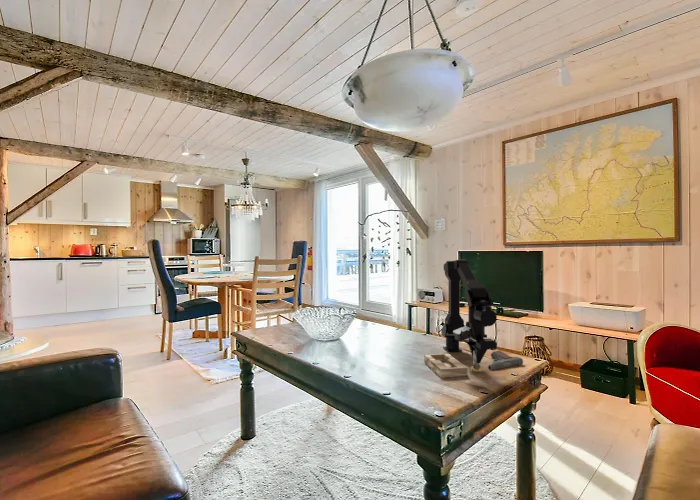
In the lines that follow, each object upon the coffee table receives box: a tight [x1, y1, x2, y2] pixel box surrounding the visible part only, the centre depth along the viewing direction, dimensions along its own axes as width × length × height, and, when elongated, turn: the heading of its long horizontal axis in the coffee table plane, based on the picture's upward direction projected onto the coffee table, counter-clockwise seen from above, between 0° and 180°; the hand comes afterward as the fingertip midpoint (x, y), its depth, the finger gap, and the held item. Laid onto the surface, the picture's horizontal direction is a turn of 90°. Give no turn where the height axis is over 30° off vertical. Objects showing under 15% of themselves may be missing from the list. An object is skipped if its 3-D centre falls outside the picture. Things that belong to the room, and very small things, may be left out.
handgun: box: [487, 350, 524, 371], centre depth 142 cm, size 3×16×12 cm
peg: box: [469, 350, 484, 373], centre depth 134 cm, size 4×4×8 cm
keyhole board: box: [423, 352, 469, 379], centre depth 136 cm, size 17×10×3 cm, turn 8°
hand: (476, 361), depth 134 cm, fingers closed on peg, 2 cm apart
